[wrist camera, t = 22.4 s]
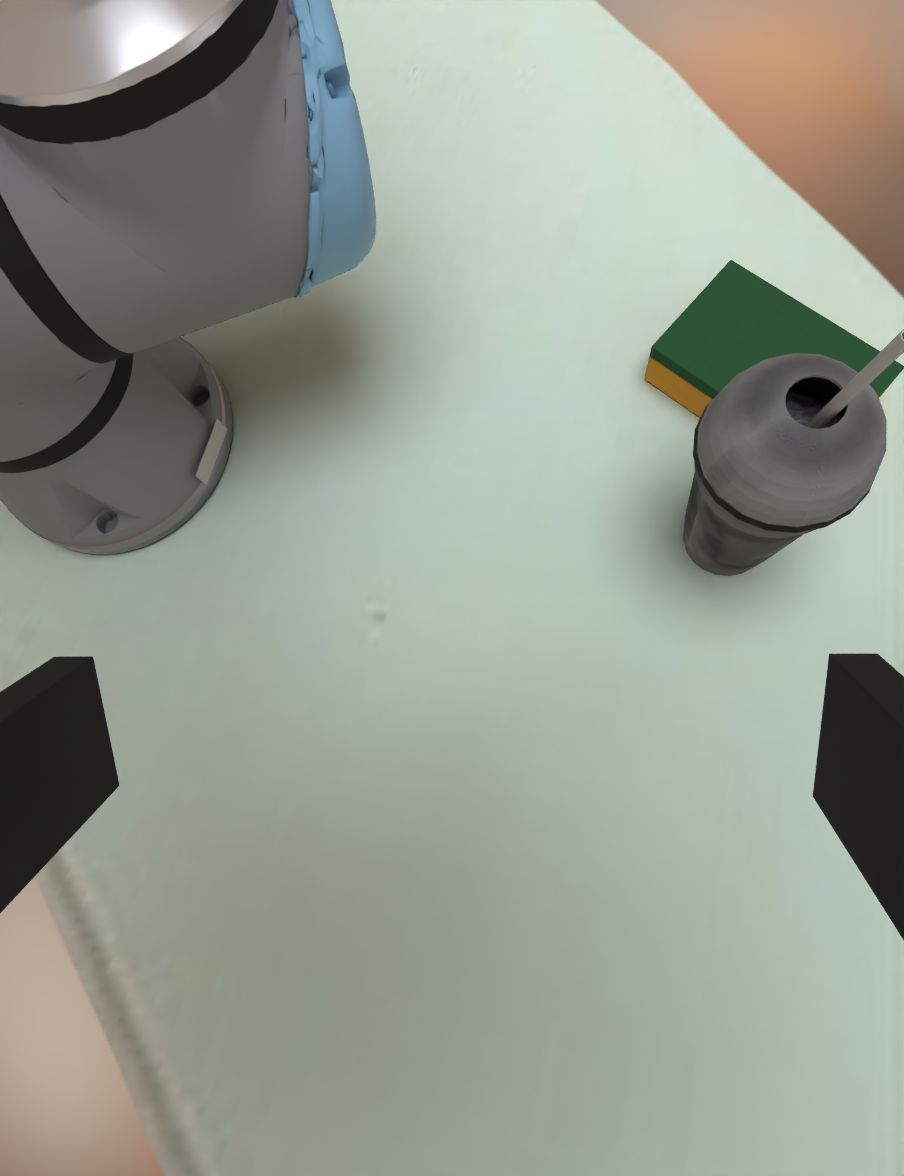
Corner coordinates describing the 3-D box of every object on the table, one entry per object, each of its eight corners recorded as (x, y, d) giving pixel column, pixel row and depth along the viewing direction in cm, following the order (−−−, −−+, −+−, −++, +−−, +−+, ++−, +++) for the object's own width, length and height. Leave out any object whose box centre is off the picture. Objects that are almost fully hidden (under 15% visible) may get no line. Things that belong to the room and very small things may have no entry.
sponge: (644, 379, 45) (651, 346, 41) (718, 297, 45) (731, 258, 42) (801, 488, 42) (822, 462, 39) (878, 399, 43) (905, 366, 39)
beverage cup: (674, 463, 43) (767, 208, 24) (806, 492, 42) (1016, 245, 23) (643, 580, 42) (716, 409, 23) (778, 615, 40) (979, 463, 21)
